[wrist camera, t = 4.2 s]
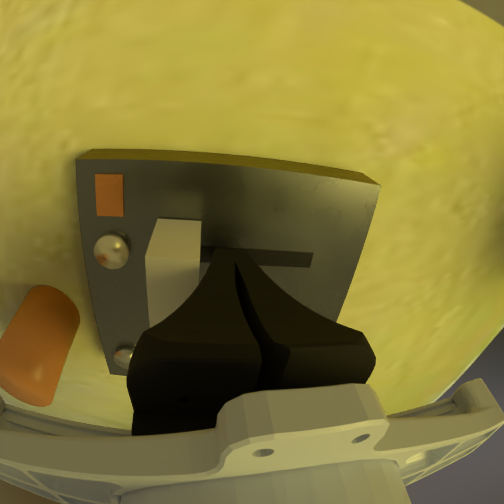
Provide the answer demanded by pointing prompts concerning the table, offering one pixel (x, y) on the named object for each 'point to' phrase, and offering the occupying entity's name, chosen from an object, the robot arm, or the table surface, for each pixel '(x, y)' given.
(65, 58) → the table surface
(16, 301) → the table surface
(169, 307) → the block
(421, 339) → the table surface
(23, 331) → the cap
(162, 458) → the robot arm
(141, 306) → the breaker panel
